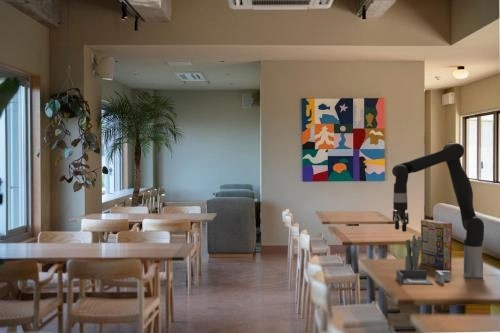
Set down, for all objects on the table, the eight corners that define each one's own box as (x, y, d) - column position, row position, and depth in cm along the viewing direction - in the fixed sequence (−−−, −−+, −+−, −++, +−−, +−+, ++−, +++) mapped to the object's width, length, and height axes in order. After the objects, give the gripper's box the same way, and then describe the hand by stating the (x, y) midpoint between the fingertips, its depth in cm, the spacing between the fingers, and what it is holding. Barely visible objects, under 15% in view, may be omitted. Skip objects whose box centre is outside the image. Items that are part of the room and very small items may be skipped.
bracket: (413, 276, 299) (414, 240, 299) (400, 274, 303) (401, 239, 302) (423, 266, 324) (423, 233, 323) (410, 265, 327) (411, 232, 326)
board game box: (451, 269, 318) (452, 223, 317) (443, 269, 315) (444, 223, 314) (427, 262, 337) (428, 219, 336) (419, 263, 334) (420, 219, 333)
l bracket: (435, 279, 292) (435, 270, 292) (448, 280, 291) (449, 270, 291) (440, 284, 283) (440, 274, 283) (454, 284, 282) (454, 274, 282)
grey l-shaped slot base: (426, 278, 294) (426, 270, 294) (432, 284, 281) (432, 275, 281) (396, 278, 295) (396, 269, 295) (401, 284, 282) (401, 275, 282)
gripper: (412, 202, 291) (413, 232, 292) (400, 199, 305) (400, 228, 306) (400, 202, 290) (400, 232, 290) (388, 200, 304) (388, 228, 304)
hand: (400, 230), depth 298 cm, fingers open, 8 cm apart
